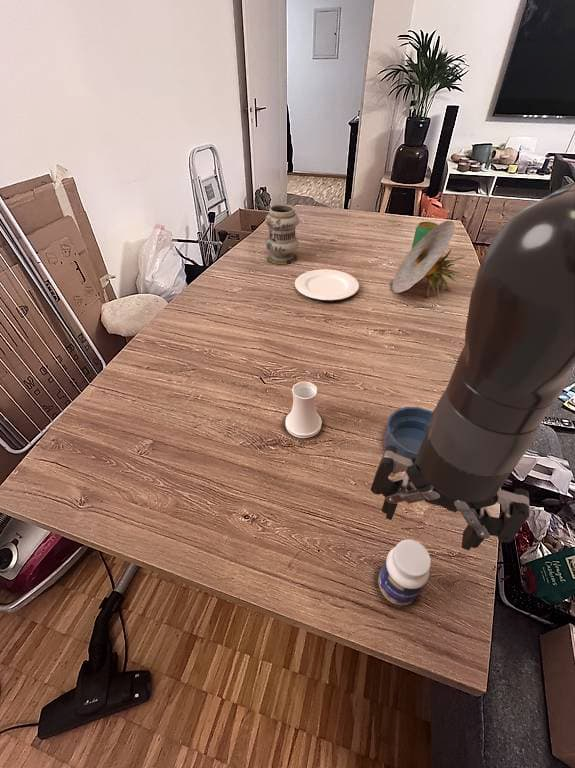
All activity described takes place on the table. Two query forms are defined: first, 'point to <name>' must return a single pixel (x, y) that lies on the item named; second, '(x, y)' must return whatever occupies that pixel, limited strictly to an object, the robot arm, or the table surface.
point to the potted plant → (427, 261)
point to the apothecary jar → (282, 233)
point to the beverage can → (422, 231)
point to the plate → (326, 285)
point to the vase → (303, 411)
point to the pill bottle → (404, 572)
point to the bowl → (407, 430)
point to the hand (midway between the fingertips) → (426, 527)
